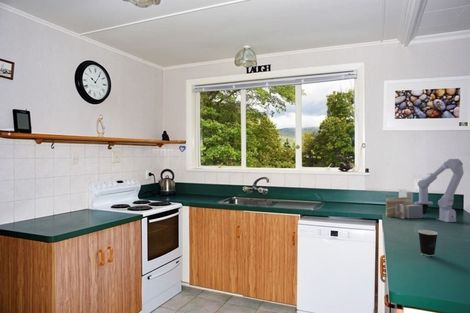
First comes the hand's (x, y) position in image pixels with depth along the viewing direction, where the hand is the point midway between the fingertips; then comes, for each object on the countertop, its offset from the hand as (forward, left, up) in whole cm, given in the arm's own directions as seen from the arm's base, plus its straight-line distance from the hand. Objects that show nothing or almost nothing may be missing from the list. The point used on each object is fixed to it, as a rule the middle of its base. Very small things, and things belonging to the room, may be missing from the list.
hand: (423, 214), depth 231 cm
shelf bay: (+1, +17, -2) cm, 17 cm away
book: (0, +9, -2) cm, 9 cm away
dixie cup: (-76, +67, -2) cm, 102 cm away
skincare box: (+32, -11, -2) cm, 33 cm away
